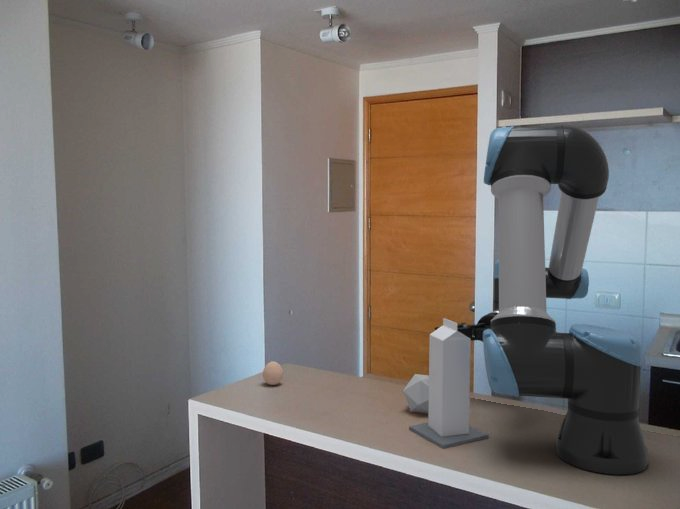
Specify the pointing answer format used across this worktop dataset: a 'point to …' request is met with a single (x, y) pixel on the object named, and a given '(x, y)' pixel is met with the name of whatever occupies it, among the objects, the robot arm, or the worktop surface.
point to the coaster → (447, 440)
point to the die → (418, 394)
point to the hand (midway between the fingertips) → (465, 345)
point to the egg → (272, 373)
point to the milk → (449, 380)
